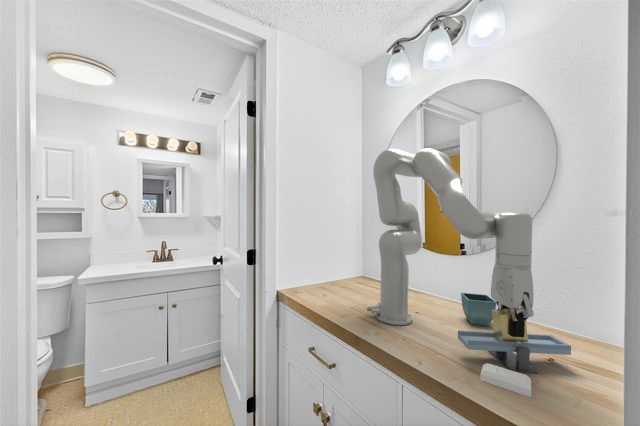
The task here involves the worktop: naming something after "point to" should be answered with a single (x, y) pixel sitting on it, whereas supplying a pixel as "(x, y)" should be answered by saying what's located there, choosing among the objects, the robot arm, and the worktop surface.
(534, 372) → the stand
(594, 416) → the worktop surface
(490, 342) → the beam
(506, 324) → the block
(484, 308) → the flower pot
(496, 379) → the soap bar
